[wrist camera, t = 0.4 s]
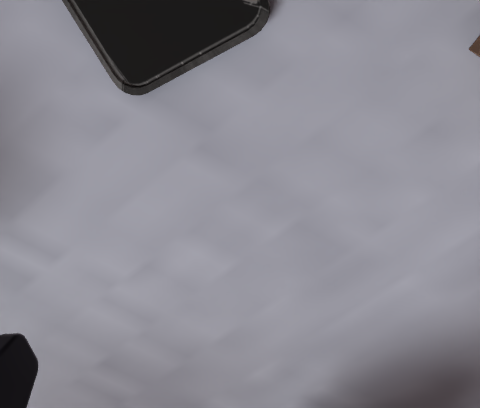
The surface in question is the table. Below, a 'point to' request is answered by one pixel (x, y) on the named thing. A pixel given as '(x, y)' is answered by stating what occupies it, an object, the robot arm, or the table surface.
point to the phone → (163, 35)
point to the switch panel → (476, 47)
